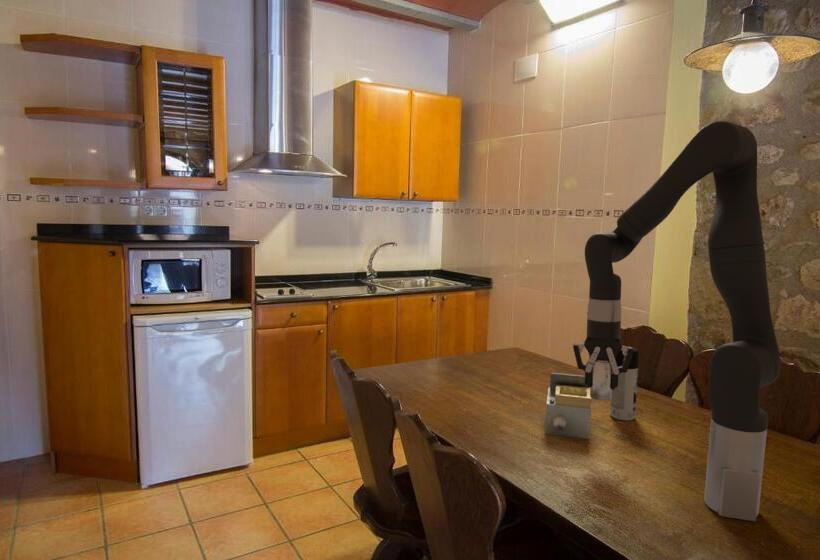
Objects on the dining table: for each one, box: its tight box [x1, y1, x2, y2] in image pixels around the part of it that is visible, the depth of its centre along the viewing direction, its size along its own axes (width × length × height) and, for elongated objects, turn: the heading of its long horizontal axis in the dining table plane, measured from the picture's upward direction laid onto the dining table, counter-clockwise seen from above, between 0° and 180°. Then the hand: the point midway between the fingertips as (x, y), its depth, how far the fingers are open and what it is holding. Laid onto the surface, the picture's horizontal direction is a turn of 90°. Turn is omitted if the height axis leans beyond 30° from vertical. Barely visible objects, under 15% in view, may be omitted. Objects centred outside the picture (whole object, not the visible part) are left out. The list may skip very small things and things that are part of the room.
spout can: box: [590, 360, 613, 402], centre depth 127 cm, size 5×5×11 cm
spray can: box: [609, 345, 640, 422], centre depth 150 cm, size 7×7×20 cm
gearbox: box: [544, 372, 592, 440], centre depth 141 cm, size 17×11×13 cm, turn 163°
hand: (601, 387), depth 127 cm, fingers closed on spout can, 4 cm apart
